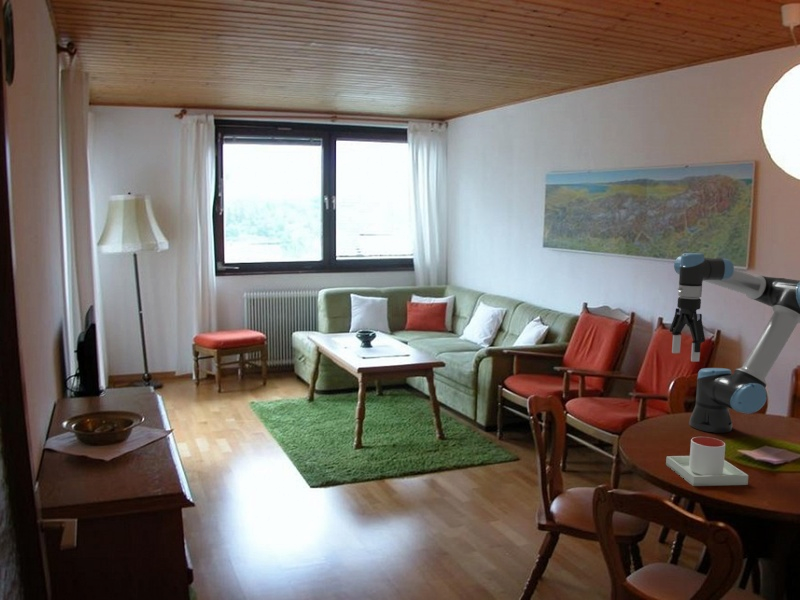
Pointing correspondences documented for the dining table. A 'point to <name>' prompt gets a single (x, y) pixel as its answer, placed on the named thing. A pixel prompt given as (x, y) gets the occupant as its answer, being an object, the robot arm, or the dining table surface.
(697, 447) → the cup
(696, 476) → the tray
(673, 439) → the dining table surface
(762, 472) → the dining table surface
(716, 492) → the dining table surface
